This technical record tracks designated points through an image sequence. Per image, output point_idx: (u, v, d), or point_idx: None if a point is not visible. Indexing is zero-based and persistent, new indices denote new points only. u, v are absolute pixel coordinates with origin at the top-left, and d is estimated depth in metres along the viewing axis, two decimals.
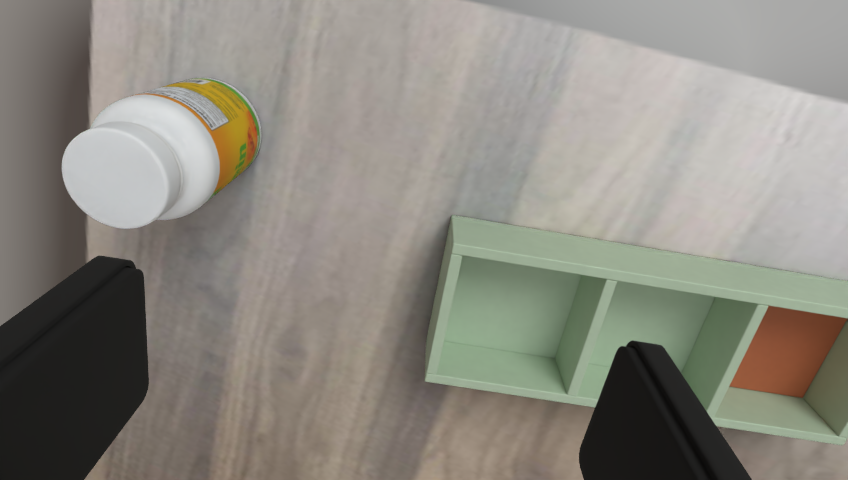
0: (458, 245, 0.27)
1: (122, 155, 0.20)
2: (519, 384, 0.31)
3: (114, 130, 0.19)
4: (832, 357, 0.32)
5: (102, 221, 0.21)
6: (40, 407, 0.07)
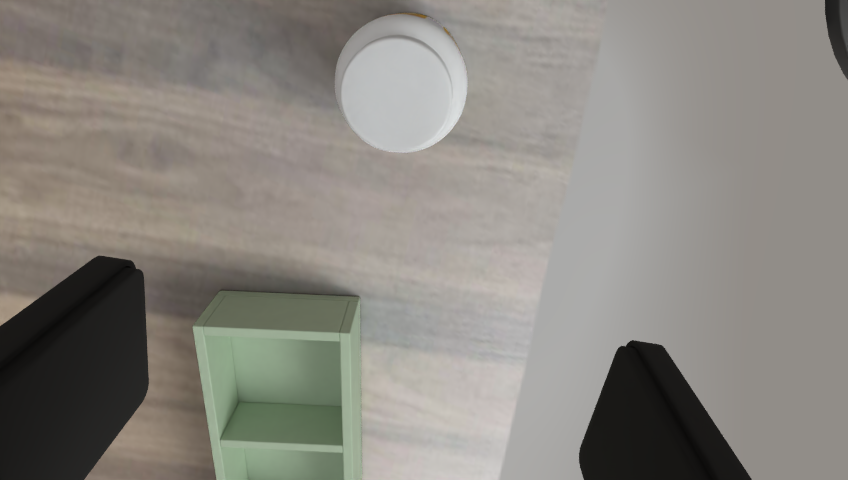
0: (348, 337, 0.29)
1: (424, 108, 0.19)
2: (216, 401, 0.32)
3: (450, 103, 0.19)
4: None
5: (345, 78, 0.19)
6: (40, 407, 0.07)
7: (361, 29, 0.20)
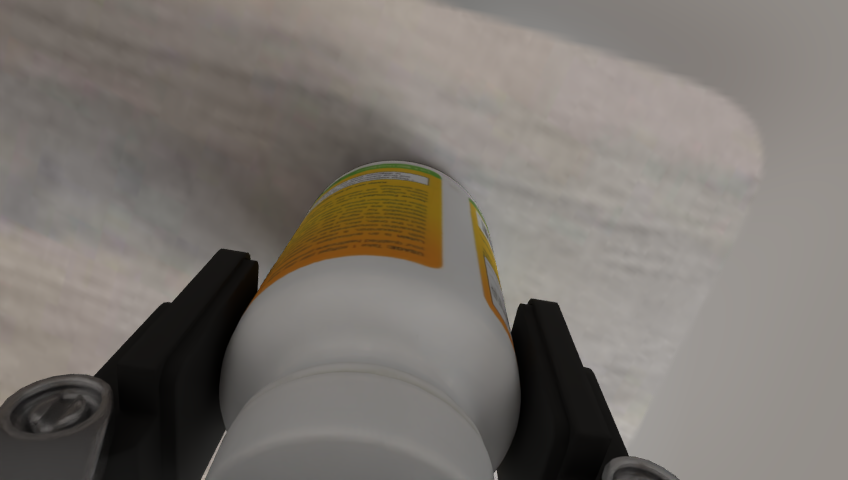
0: None
1: None
2: None
3: None
4: None
5: None
6: (200, 380, 0.08)
7: (288, 294, 0.08)
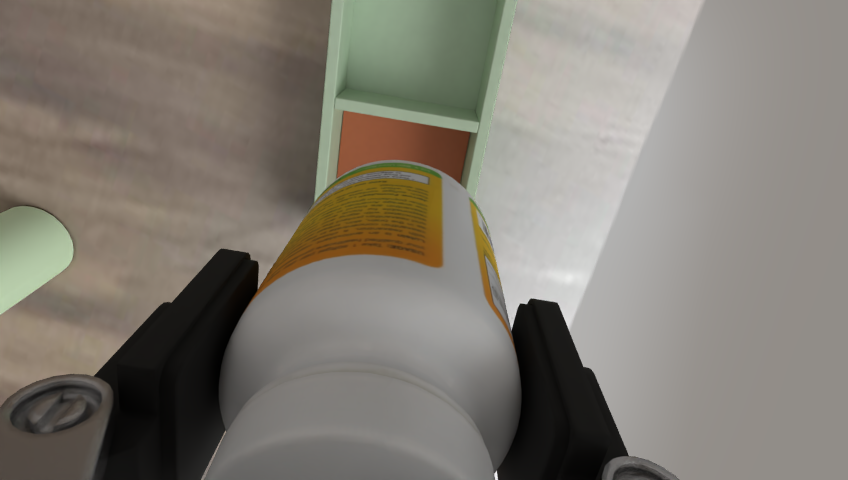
0: None
1: None
2: None
3: None
4: None
5: None
6: (200, 380, 0.08)
7: (288, 293, 0.08)
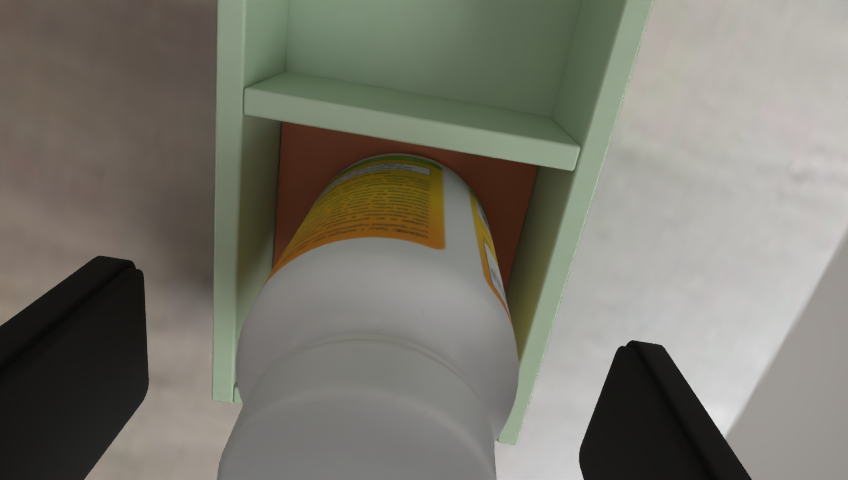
0: None
1: None
2: None
3: None
4: None
5: (231, 457, 0.07)
6: (40, 407, 0.07)
7: (302, 272, 0.09)
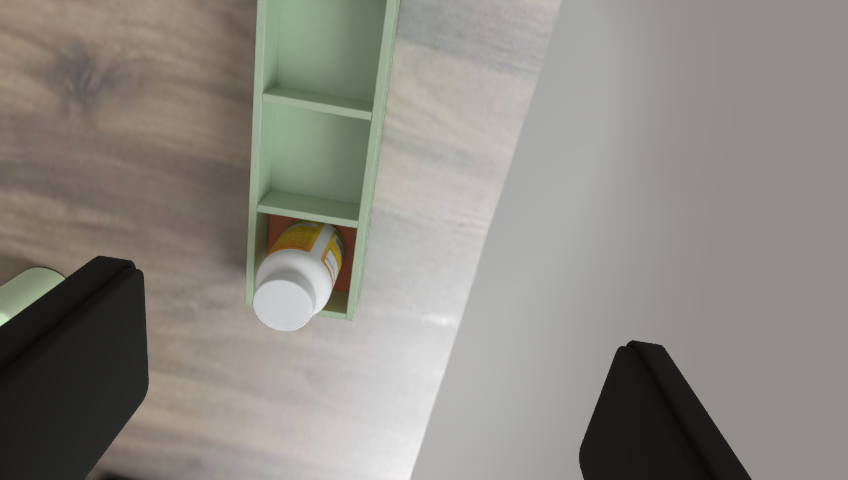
0: None
1: (297, 313, 0.36)
2: (265, 50, 0.35)
3: (311, 312, 0.36)
4: None
5: (256, 294, 0.35)
6: (40, 407, 0.07)
7: (272, 257, 0.37)
